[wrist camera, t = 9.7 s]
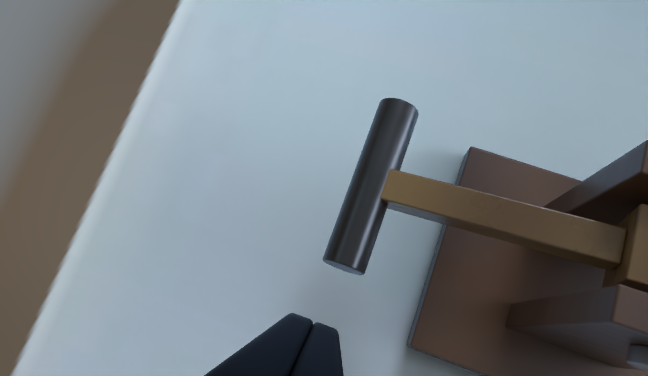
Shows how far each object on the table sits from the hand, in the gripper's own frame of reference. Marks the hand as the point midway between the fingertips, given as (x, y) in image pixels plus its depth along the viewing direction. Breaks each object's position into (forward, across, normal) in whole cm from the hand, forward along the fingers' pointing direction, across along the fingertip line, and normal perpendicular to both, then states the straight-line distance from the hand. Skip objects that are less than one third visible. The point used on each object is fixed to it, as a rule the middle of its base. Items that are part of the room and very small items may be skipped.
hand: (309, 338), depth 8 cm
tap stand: (+13, -9, +6) cm, 17 cm away
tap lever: (+9, -5, +2) cm, 10 cm away
